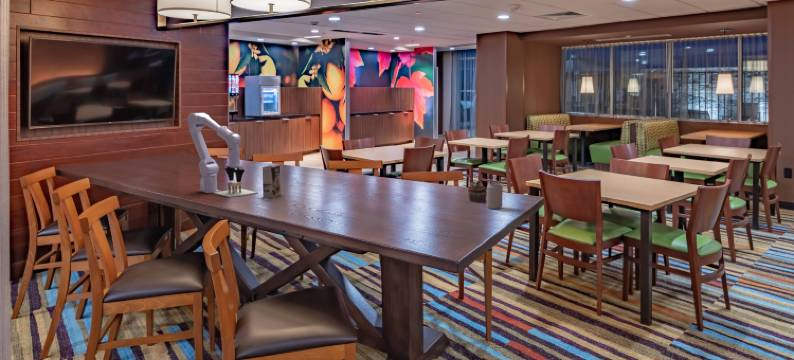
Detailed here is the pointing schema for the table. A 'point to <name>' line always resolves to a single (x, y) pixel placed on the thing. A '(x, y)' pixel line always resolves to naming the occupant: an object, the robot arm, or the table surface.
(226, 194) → the mat
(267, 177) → the coffee box
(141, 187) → the table surface
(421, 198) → the table surface
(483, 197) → the cupcake
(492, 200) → the can
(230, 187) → the stool
